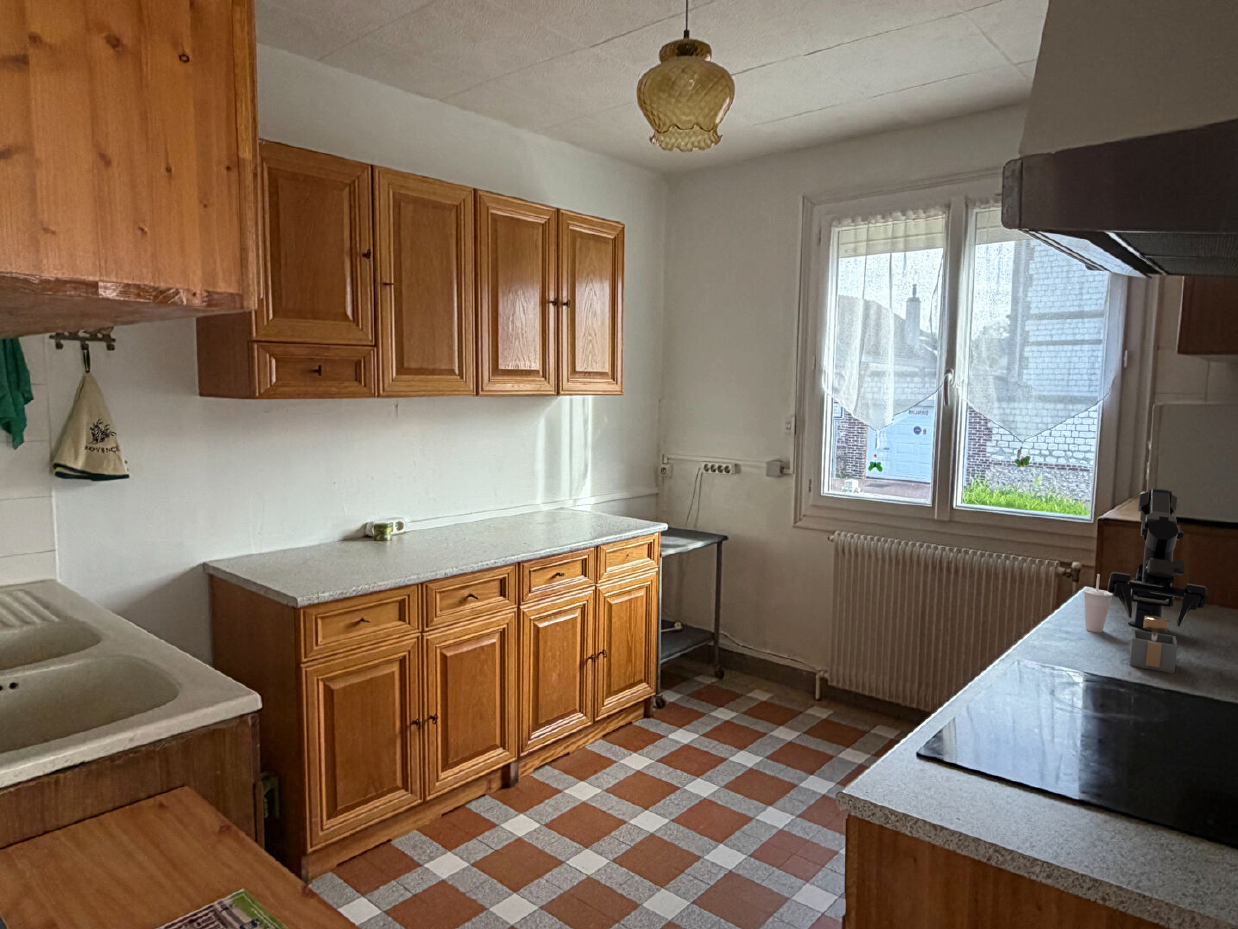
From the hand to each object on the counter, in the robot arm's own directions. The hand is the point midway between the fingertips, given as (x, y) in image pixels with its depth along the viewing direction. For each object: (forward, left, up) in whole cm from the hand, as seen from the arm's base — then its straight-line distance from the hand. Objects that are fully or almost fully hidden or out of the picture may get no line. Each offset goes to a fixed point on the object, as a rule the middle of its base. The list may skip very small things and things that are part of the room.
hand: (1154, 621), depth 181 cm
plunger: (+7, +3, -7) cm, 10 cm away
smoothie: (-7, -16, -8) cm, 19 cm away
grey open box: (+7, +3, -8) cm, 11 cm away
